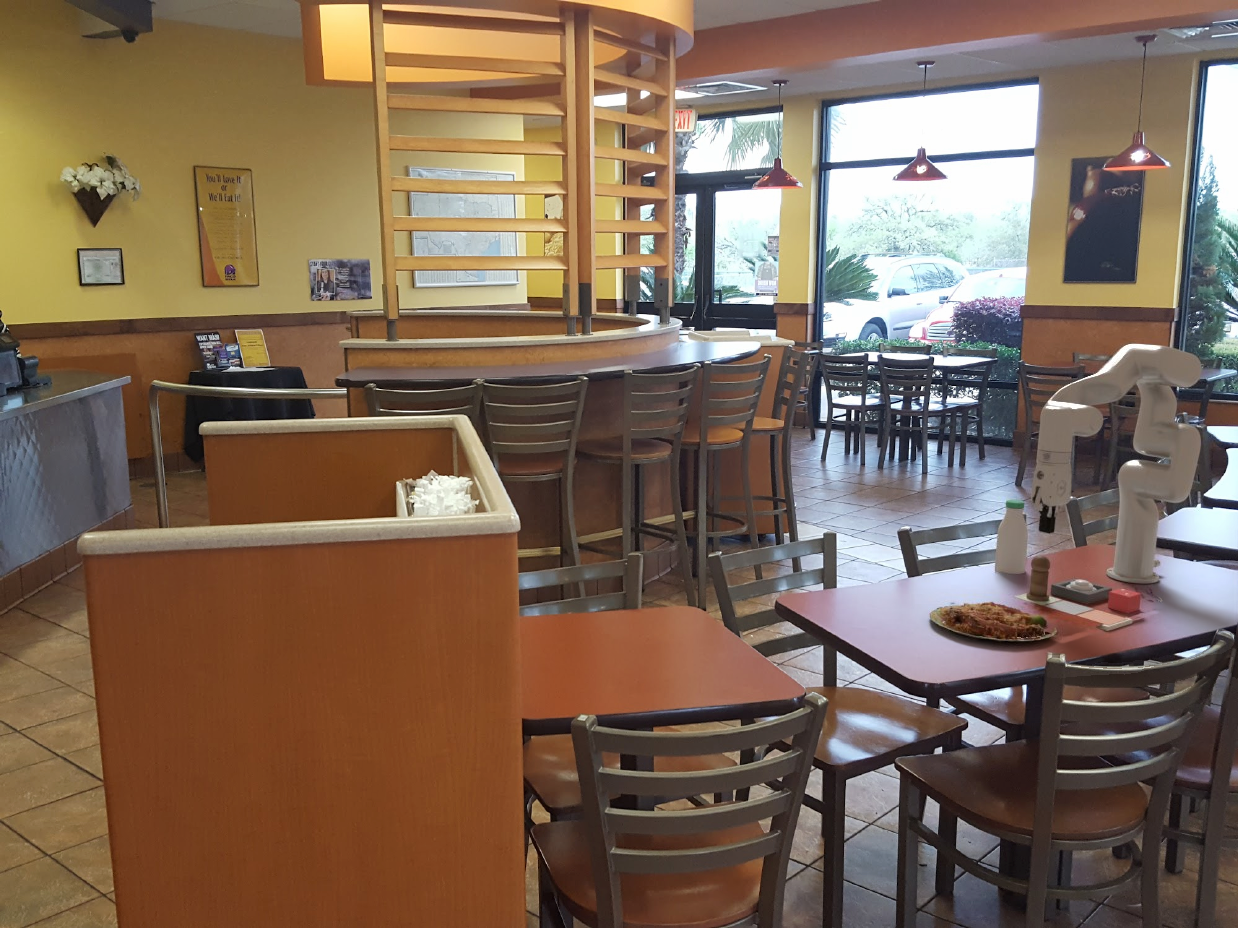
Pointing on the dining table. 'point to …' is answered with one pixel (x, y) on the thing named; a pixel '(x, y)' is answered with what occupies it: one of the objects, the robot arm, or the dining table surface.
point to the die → (1124, 600)
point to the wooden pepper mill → (1039, 579)
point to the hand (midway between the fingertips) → (1046, 531)
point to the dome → (1081, 586)
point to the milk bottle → (1012, 540)
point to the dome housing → (1080, 592)
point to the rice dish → (991, 622)
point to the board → (1072, 608)
